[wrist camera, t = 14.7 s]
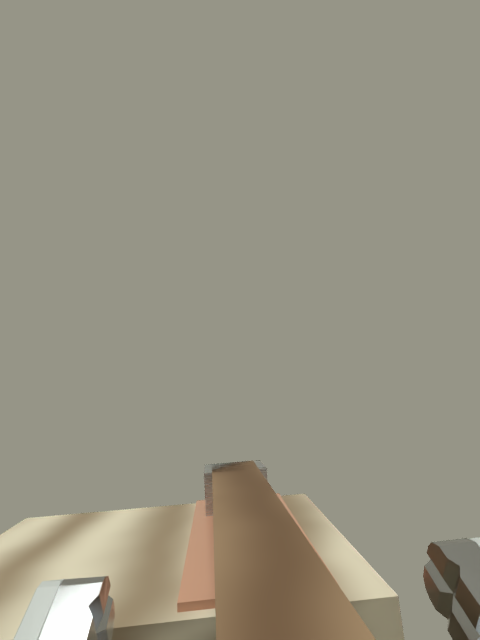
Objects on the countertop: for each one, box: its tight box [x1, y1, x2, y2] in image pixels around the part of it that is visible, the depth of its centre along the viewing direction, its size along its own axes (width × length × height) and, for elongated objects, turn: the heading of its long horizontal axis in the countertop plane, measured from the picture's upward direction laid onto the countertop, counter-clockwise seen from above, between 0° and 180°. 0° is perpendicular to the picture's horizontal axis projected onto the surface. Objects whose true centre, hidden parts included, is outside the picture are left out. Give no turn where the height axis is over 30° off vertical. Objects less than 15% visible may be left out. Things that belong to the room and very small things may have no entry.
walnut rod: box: [204, 460, 376, 640], centre depth 15 cm, size 4×22×2 cm, turn 5°
